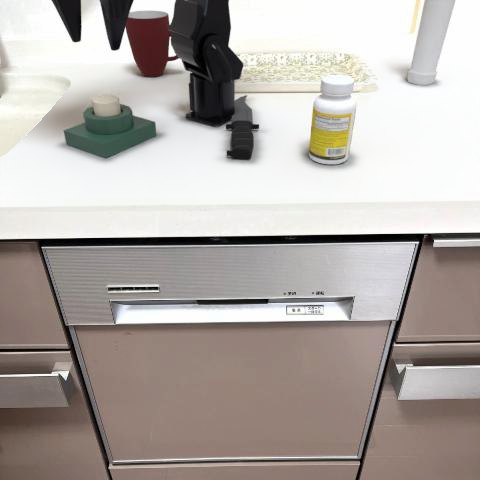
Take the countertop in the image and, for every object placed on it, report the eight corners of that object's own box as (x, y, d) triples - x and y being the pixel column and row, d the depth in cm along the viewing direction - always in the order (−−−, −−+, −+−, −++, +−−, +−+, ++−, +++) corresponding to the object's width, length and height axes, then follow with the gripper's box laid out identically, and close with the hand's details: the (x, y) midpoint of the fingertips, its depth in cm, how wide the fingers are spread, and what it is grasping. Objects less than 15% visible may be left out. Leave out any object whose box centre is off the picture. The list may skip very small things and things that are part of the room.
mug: (187, 68, 96) (183, 10, 89) (184, 80, 90) (180, 18, 83) (134, 68, 96) (127, 10, 89) (129, 80, 90) (120, 18, 83)
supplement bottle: (321, 146, 67) (331, 70, 60) (355, 156, 64) (369, 78, 58) (300, 158, 64) (307, 79, 57) (335, 169, 61) (347, 88, 54)
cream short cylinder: (126, 113, 66) (124, 98, 64) (107, 120, 64) (104, 105, 62) (108, 108, 67) (106, 93, 66) (89, 115, 65) (86, 99, 64)
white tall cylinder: (405, 83, 89) (445, -92, 72) (406, 76, 93) (444, -93, 76) (434, 86, 88) (481, -92, 71) (434, 78, 92) (478, -92, 75)
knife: (227, 90, 81) (256, 90, 81) (227, 99, 82) (256, 100, 82) (223, 149, 62) (261, 149, 62) (224, 161, 63) (261, 161, 63)
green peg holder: (156, 135, 69) (153, 107, 67) (105, 158, 63) (100, 128, 60) (118, 123, 73) (113, 96, 70) (66, 144, 67) (59, 115, 64)
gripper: (-57, -124, 48) (-5, 47, 59) (61, -126, 41) (97, 72, 51) (35, -121, 55) (67, 32, 66) (151, -123, 47) (166, 52, 58)
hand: (95, 45), depth 60 cm, fingers open, 7 cm apart
